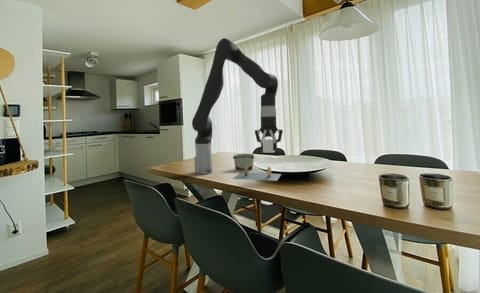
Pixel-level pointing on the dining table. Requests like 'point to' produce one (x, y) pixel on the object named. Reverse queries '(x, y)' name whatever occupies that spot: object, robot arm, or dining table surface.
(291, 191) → the dining table surface
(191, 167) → the dining table surface
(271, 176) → the board
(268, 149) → the white block
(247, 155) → the food container
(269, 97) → the robot arm
